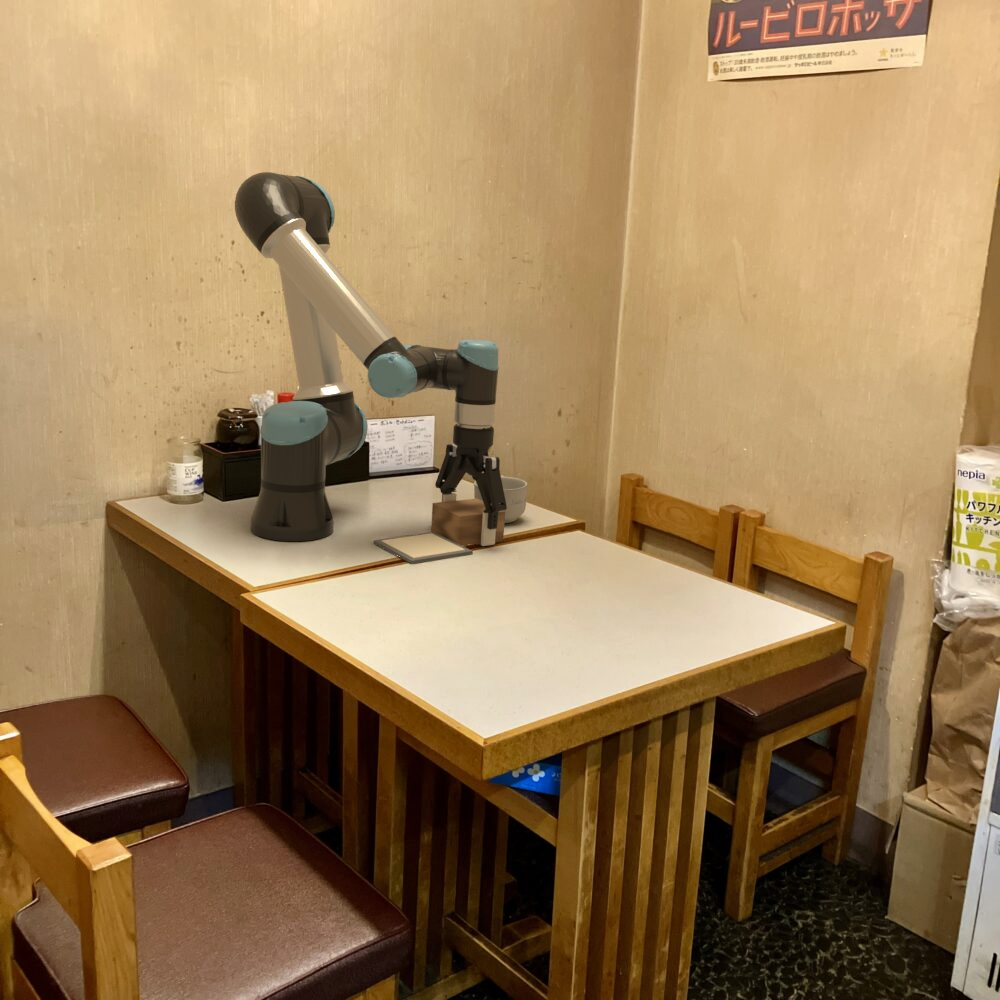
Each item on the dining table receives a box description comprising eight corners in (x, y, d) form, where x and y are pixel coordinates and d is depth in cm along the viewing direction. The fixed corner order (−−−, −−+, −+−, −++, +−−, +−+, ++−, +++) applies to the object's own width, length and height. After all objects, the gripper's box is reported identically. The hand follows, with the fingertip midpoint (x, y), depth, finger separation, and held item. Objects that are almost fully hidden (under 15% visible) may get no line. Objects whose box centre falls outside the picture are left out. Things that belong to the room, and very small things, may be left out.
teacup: (519, 529, 197) (522, 490, 195) (466, 523, 199) (468, 484, 197) (531, 512, 211) (534, 475, 209) (481, 506, 213) (483, 469, 211)
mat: (373, 543, 182) (373, 539, 182) (432, 534, 190) (432, 531, 190) (411, 564, 172) (411, 560, 172) (472, 554, 180) (472, 550, 180)
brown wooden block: (431, 533, 192) (432, 502, 190) (474, 527, 197) (476, 498, 196) (458, 547, 184) (460, 516, 182) (503, 541, 189) (505, 511, 188)
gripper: (531, 436, 178) (522, 550, 183) (453, 412, 197) (447, 516, 202) (497, 438, 173) (490, 556, 179) (420, 414, 192) (415, 521, 197)
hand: (467, 535), depth 190 cm, fingers open, 12 cm apart
